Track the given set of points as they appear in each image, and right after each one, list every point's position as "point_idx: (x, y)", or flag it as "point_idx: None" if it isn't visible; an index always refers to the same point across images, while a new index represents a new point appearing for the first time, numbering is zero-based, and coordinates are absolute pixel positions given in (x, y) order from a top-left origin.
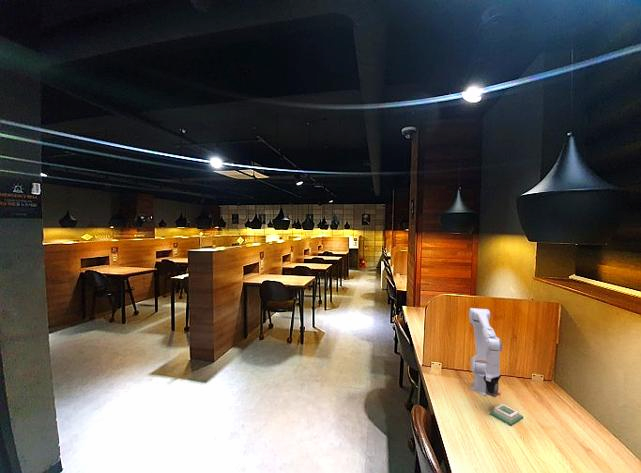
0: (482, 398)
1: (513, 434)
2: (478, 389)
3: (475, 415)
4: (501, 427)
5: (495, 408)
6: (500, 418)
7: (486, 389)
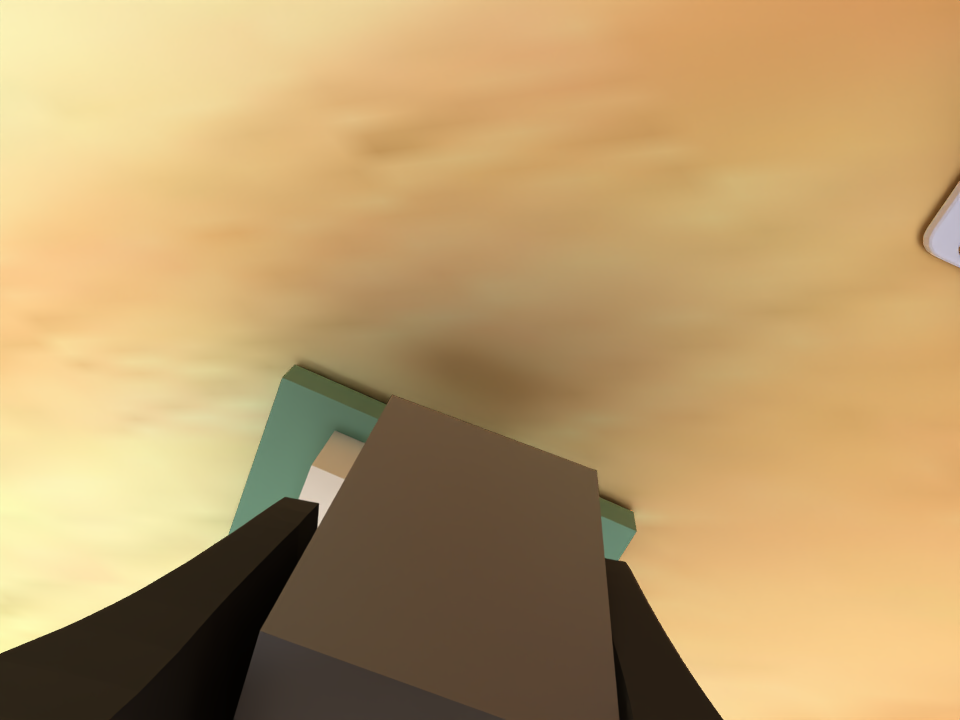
0: (784, 215)
1: (85, 597)
2: None
3: (112, 174)
4: (113, 494)
5: (308, 482)
6: (242, 502)
7: (357, 469)
